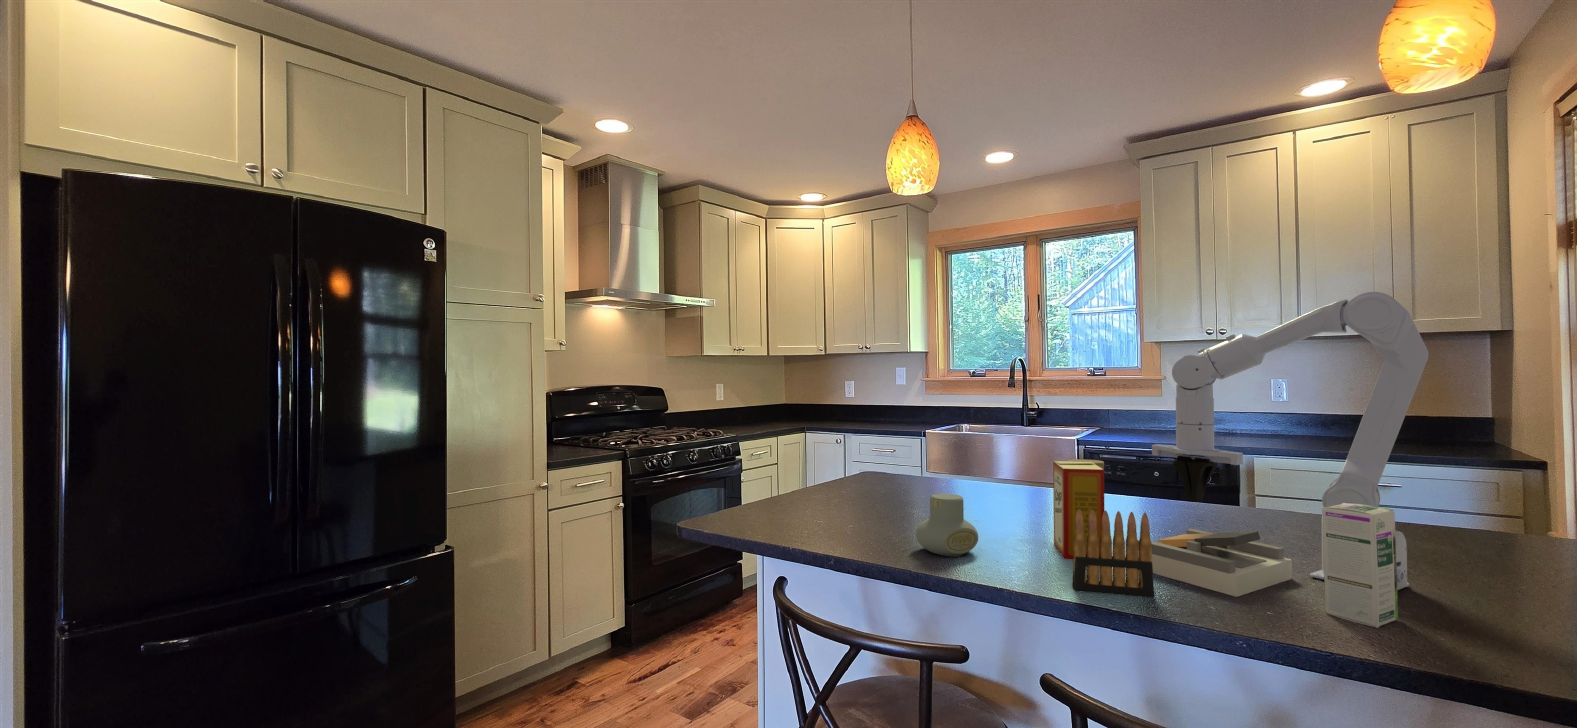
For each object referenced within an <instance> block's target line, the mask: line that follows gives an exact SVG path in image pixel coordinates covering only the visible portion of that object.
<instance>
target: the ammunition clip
mask: <svg viewBox="0 0 1577 728" xmlns="http://www.w3.org/2000/svg"><path fill="white" fill-rule="evenodd" d="M1123 523H1124V522H1123V517H1122V514H1121V512H1120V511H1119V510H1117V511H1116V514H1115V517H1114V523H1113V525H1114V526H1113V529H1114V530H1113V538H1112V535H1111V521H1110V517H1109V513H1108V511H1107V510H1106V509H1104V513H1103V516H1102V523H1101V536H1100V555H1099V539H1098V535H1097V521H1096V516H1095V513H1094V511H1093V510H1091V512H1090V515H1089V521H1088V535H1087V554H1086V539H1085V534H1084V521H1083V515H1082V512H1081V510H1080V509H1079V510H1078V511H1077V515H1076V521H1075V534H1074V560H1073V561H1072V563H1073V565H1072V582H1071V583H1072V584H1071V585H1072V589H1073V591H1074V592H1079V591H1082V592H1081V593H1092V594H1093V593H1094V594H1103V595H1104V594H1106V595H1115V596H1117V595H1118V596H1127V597H1128V596H1130V597H1140V598H1141V597H1143V598H1152V599H1153V598H1155V585H1154V573H1153V567H1152V544H1151V541H1152V540H1151V530H1150V521H1149V517H1148V514H1147V512H1145V511H1144V512H1143V513H1142V517H1141V520H1140V531H1139V539H1138V533H1137V521H1136V518H1135V515H1134V512H1133V511H1130V513H1129V515H1128V519H1127V525H1126V526H1127V529H1126V537H1124V536H1125V533H1124V532H1125V531H1124V524H1123ZM1138 540H1139V558H1138Z"/></svg>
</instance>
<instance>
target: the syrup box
mask: <svg viewBox="0 0 1577 728" xmlns="http://www.w3.org/2000/svg"><path fill="white" fill-rule="evenodd" d="M1321 511H1322V515H1321V517H1322V516H1323V553H1324V609H1325V613H1326V614H1328V615H1330V616H1333V617H1336V618H1338V619H1339V618H1340V619H1343V620H1347V621H1349V622H1353V623H1357V624H1360V625H1364V626H1368V627H1372V628H1376V629H1379V628H1380V626H1383V625H1386V624H1390V623H1391V622H1395V621H1397V620H1399V602H1398V601H1399V599H1398V590H1397V566H1396V538H1395V531H1396V520H1395V519H1396V516H1395V511H1394V510H1393V509H1390V508H1386V507H1381V506H1378V507H1377V506H1371V505H1363V504H1350V503H1342V504H1340V505H1335V506H1330V507H1322V508H1321Z"/></svg>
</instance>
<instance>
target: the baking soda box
mask: <svg viewBox="0 0 1577 728" xmlns="http://www.w3.org/2000/svg"><path fill="white" fill-rule="evenodd" d="M1052 467H1053V468H1052V471H1053V472H1052V475H1053V477H1052V478H1053V479H1052V483H1053V489H1052V490H1053V492H1052V494H1053V498H1052V499H1053V500H1052V501H1053V546H1054V547H1055V548H1056V549H1057V551H1058V553H1060V555H1061V557H1062V559H1063V560H1073V561H1074V534H1075V521H1076V515H1077V511H1078V510H1079V509H1080V510H1081V512H1082V515H1083V521H1084V534H1085V539H1086V554H1087V535H1088V521H1089V515H1090V512H1091V510H1093V511H1094V513H1095V516H1096V521H1097V535H1098V539H1099V555H1100V536H1101V523H1102V516H1103V513H1104V511H1105V468H1104V469H1102V468H1100V467H1099V466H1097V465H1095V464H1093V463H1092V462H1077V461H1067V460H1064V461H1063V460H1053V461H1052Z"/></svg>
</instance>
